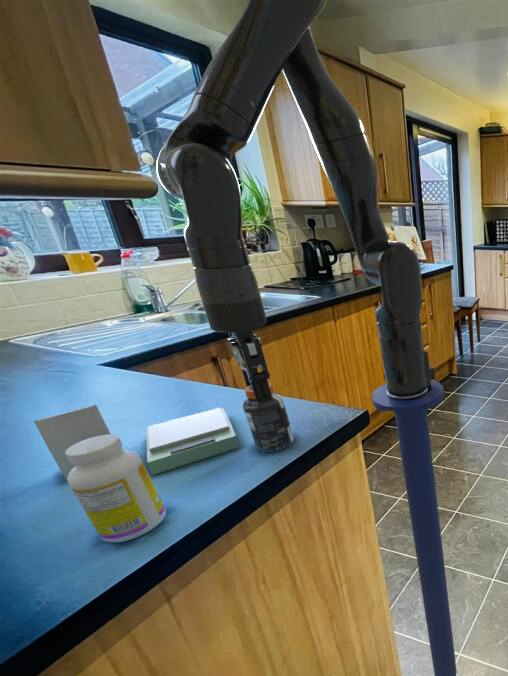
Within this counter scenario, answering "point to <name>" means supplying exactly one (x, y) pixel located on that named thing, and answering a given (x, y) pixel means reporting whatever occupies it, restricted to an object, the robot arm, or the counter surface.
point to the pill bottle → (268, 421)
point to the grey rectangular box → (70, 432)
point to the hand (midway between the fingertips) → (259, 393)
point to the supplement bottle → (114, 488)
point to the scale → (189, 440)
